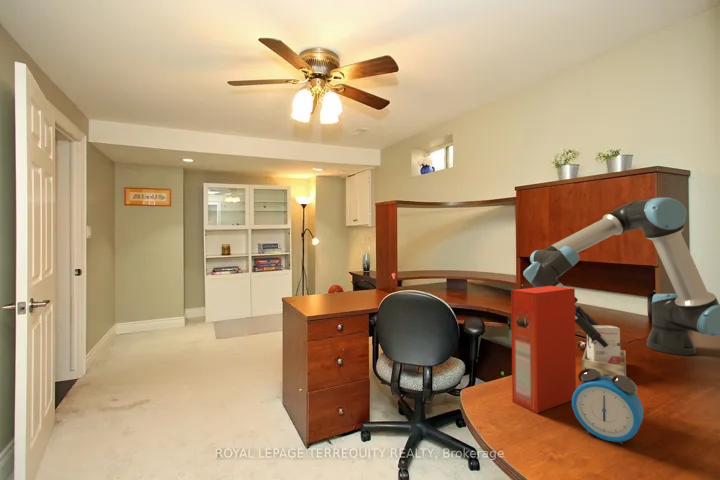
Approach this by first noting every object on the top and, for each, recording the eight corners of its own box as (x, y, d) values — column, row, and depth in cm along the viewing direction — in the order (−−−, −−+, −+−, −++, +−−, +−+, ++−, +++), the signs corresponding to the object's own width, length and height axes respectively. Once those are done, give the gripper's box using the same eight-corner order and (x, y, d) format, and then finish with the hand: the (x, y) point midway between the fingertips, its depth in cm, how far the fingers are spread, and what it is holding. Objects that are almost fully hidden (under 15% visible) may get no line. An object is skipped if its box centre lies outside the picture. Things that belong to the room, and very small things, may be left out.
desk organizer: (625, 364, 128) (625, 339, 128) (626, 382, 112) (626, 354, 112) (586, 357, 135) (586, 334, 135) (581, 374, 119) (581, 347, 119)
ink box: (611, 358, 123) (612, 324, 122) (621, 363, 118) (621, 328, 117) (585, 357, 123) (585, 324, 123) (593, 362, 118) (593, 327, 118)
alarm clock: (571, 429, 85) (571, 368, 85) (578, 420, 89) (578, 361, 89) (639, 453, 76) (639, 384, 76) (644, 441, 80) (643, 376, 80)
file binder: (511, 401, 100) (511, 289, 100) (549, 388, 108) (549, 285, 108) (537, 414, 93) (537, 293, 92) (575, 399, 101) (575, 288, 101)
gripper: (557, 300, 138) (606, 349, 128) (548, 309, 121) (604, 365, 112) (572, 288, 135) (625, 337, 125) (565, 295, 118) (625, 352, 108)
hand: (615, 350), depth 118 cm, fingers closed on ink box, 8 cm apart
